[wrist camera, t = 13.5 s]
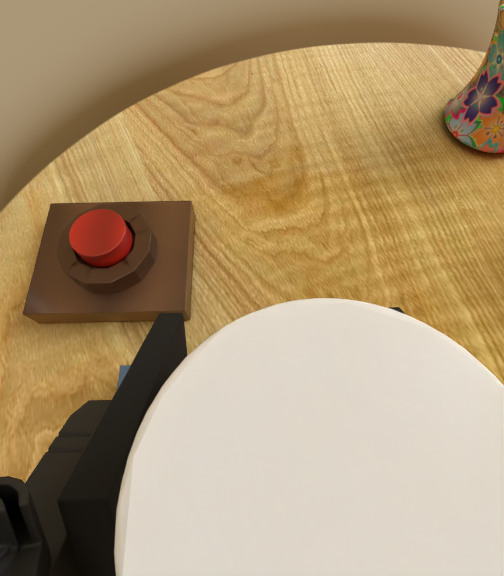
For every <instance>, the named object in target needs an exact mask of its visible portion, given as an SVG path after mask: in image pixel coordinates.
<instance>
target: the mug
mask: <svg viewBox="0 0 504 576" xmlns="http://www.w3.org/2000/svg"><path fill="white" fill-rule="evenodd" d="M444 117H445V122H446V125H447V127H448V129H449V130H450V132H451V133H452V134H453V135H454V136H455V137H456V138H457V139H458V140H459V141H461V142H462V143H464V144H466V145H467V146H469V147H472V148H474V149H477V150H480V151H484V152H489V153H504V0H500V3H499V8H498V15H497V21H496V26H495V30H494V33H493V37H492V40H491V43H490V46H489V49H488V51H487V53H486V55H485V58H484V60H483V62H482V64H481V66H480V67H479V69H478V71H477V72H476V74H475V75H474V77H473V78H472V80H471V81H470V82H469V83H468V84H467V86H466V87H465V88H464V89H463V90H462V91H460V92H459V93H458V94H456V95H455V96H454V97H453V98H451V99H450V101H449V102H448V103H447V105H446V108H445V113H444Z"/></svg>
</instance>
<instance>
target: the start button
mask: <svg viewBox="0 0 504 576" xmlns="http://www.w3.org/2000/svg"><path fill="white" fill-rule="evenodd" d="M69 241H70V244H71V246H72V248H73V249H74V250H75V251H76V252H77V253H78V255H79V256H80V257H81V258H82V259H83V260H84V261H85V262H86V263H88V264H89V265H91V266H95V267H109V266H113V265H115V264H117V263H119V262H121V261H122V260H123V259H124V258H125V257H126V256H127V255H128V254H129V252H130V250H131V248H132V244H133V238H132V234H131V232H130V230H129V229H128V227H127V225H126V223H125V222H124V220H123V218H122V217H121V216H120V215H119V214H117V213H116V212H114V211H111V210H107V209H97V210H92V211H90V212H87V213H85V214H83V215H82V216H80V217H79V218H78V219H77V220H76V221H75V222H74V224H73V225H72V227H71V229H70V233H69Z"/></svg>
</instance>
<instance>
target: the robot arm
mask: <svg viewBox="0 0 504 576" xmlns="http://www.w3.org/2000/svg"><path fill="white" fill-rule="evenodd" d="M390 309H393V310H395V311H398V312H400V313H403V314H405V313H404V312H403V311H402V310H401V309H400V308H399V307H393V308H390ZM186 357H187V348H186V338H185V328H184V318H183V313H159V315H158V317H157V318H156V320H155V322H154V324H153V326H152V328H151V329H150V331H149V333H148V335H147V337H146V339H145V340H144V342H143V344H142V346H141V348H140V350H139V351H138V353H137V355H136V357H135V359H134V361H133V362H132V364H131V366H130V368H129V370H128V372H127V373H126V375H125V377H124V379H123V381H122V383H121V384H120V386H119V388H118V390H117V392H116V394H115V395H114V397H113V399H112V400H93V401H88V402H87V403H85V404H84V405H83V406H82V407H81V408H79V409H78V410H77V411H76V412H74V413H73V414H72V415H71V416H70V417H69V419H68V420H67V422H66V423H65V425H64V426H63V428H62V429H61V431H60V432H59V436H58V437H56V438H55V440H54V441H53V443H52V444H51V446H50V447H49V451H48V452H46V453H45V455H44V456H43V458H42V459H41V460H40V462H39V463H38V465H37V466H36V468H35V469H34V471H33V472H32V474H31V475H30V477H29V478H28V480H27V481H26V483H24V482H23V481H22V480H20V479H17V478H13V477H9V476H6V477H0V576H116V570H115V558H114V545H115V527H116V510H117V505H118V499H119V494H120V489H121V483H122V478H123V475H124V472H125V468H126V463H127V459H128V456H129V453H130V450H131V448H132V445H133V442H134V439H135V436H136V434H137V431H138V429H139V427H140V425H141V423H142V421H143V419H144V417H145V414H146V412H147V410H148V409H149V407H150V405H151V404H152V402H153V401H154V399H155V397H156V396H157V394H158V392H159V391H160V389H161V387H162V386H163V385H164V383H165V382H166V381H167V379H168V378H169V377H170V375H171V374H172V373H173V372H174V371H175V369H176V368H177V367H178V366H179V365H180V363H181V362H182V361H183V360H184V359H185V358H186Z"/></svg>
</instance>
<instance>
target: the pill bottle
mask: <svg viewBox="0 0 504 576" xmlns="http://www.w3.org/2000/svg"><path fill="white" fill-rule="evenodd" d="M114 558H115V570H116V576H504V385H503V384H502V383H501V382H500V381H499V380H498V379H497V378H496V377H495V376H494V375H493V374H492V373H491V372H490V371H489V370H488V369H487V368H486V367H485V366H484V365H483V364H482V363H480V362H479V361H478V360H477V359H476V358H475V357H474V356H472V355H471V354H470V353H469V352H468V351H467V350H465V349H464V348H463V347H462V346H460V345H459V344H457V343H456V342H455V341H453V340H452V339H450V338H449V337H447V336H446V335H444V334H443V333H441V332H439V331H437V330H436V329H434V328H432V327H430V326H429V325H427V324H425V323H423V322H421V321H419V320H417V319H414V318H412V317H410V316H408V315H406V314H403V313H400V312H398V311H395V310H393V309H390V308H386V307H382V306H379V305H375V304H370V303H366V302H361V301H355V300H347V299H333V298H314V299H304V300H295V301H290V302H285V303H281V304H277V305H273V306H269V307H266V308H263V309H260V310H257V311H255V312H252V313H250V314H248V315H245V316H243V317H241V318H239V319H237V320H235V321H234V322H232V323H230V324H228V325H226V326H224V327H223V328H221V329H220V330H218V331H217V332H216V333H214V334H213V335H211V336H210V337H209V338H207V339H206V340H205V341H204V342H203V343H201V344H200V345H199V346H198V347H197V348H196V349H195V350H194V351H192V352H191V353H190V354H189V355H188V356H187V357H186V358H185V359H184V360H183V361H182V362H181V363H180V365H179V366H178V367H177V368H176V369H175V371H174V372H173V373H172V374H171V375H170V377H169V378H168V379H167V381H166V382H165V383H164V385H163V386H162V387H161V389H160V391H159V392H158V394H157V396H156V397H155V399H154V401H153V402H152V404H151V405H150V407H149V409H148V410H147V412H146V414H145V417H144V419H143V421H142V423H141V425H140V427H139V429H138V431H137V434H136V436H135V439H134V442H133V445H132V448H131V450H130V453H129V456H128V459H127V463H126V468H125V472H124V475H123V478H122V483H121V489H120V494H119V499H118V505H117V510H116V527H115V545H114Z"/></svg>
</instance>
